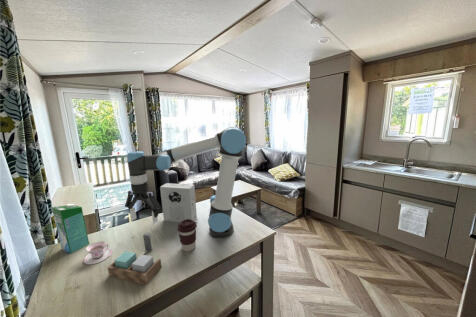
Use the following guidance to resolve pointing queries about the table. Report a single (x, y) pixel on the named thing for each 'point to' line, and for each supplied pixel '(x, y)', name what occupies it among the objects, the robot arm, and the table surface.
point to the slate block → (142, 263)
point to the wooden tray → (134, 273)
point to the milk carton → (70, 227)
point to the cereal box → (178, 202)
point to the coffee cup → (187, 234)
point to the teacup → (97, 252)
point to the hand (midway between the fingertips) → (144, 220)
